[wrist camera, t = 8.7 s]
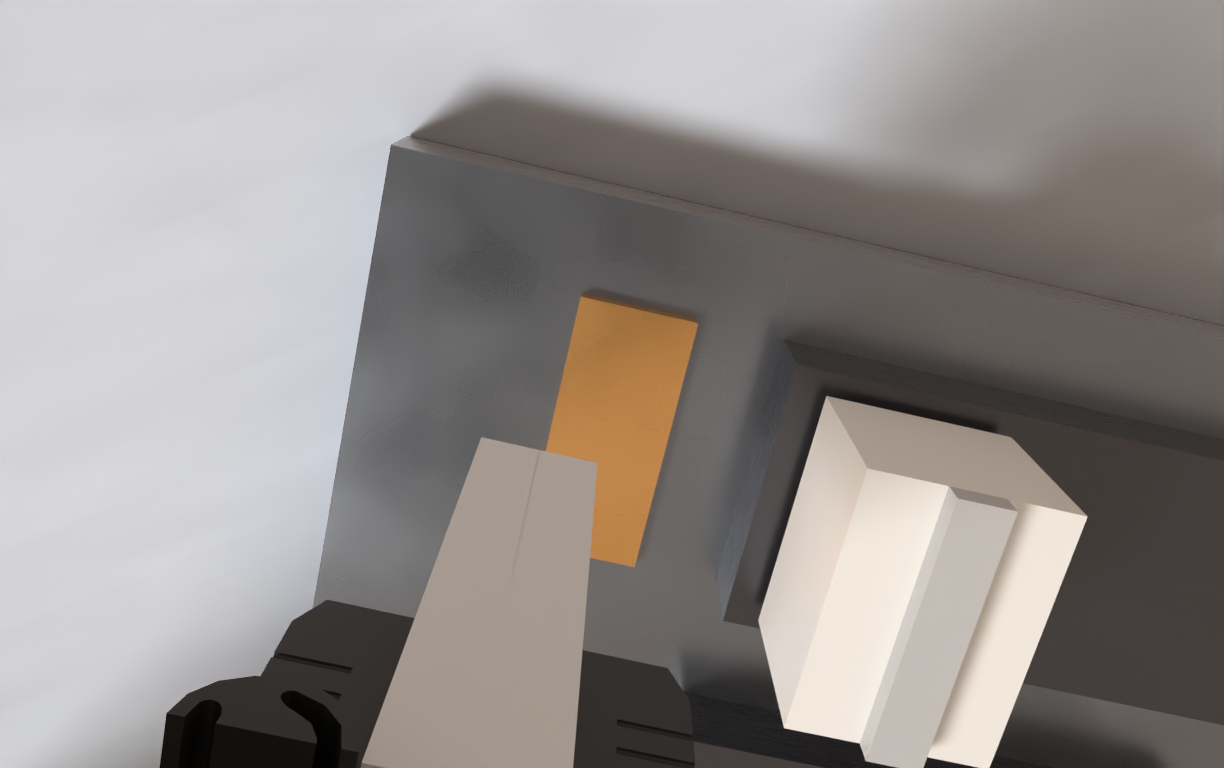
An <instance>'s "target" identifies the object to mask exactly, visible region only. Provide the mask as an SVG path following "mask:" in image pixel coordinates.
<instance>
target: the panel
mask: <svg viewBox="0 0 1224 768" xmlns="http://www.w3.org/2000/svg"><path fill="white" fill-rule="evenodd" d="M826 396H829V397H834V398H838V399H843V400H847V401H852V402H856V403H860V404H865V405H869V406H874V407H878V408H883V409H887V410H892V411H896V412H901V413H905V414H910V415H914V416H919V417H923V418H928V419H932V420H937V421H941V422H946V423H950V424H955V425H959V426H964V427H968V428H973V429H977V430H981V431H986V432H990V433H995V434H999V435H1004V436H1008V437H1012V439H1013V440H1014V441H1015V442H1016V443H1017V444H1018V445H1019V446H1020V447H1021V448H1022V449H1023V450H1024V451H1025V452H1026V453H1027V454H1028V455H1029V456H1030V457H1031V458H1032V459H1033V460H1034V461H1035V462H1036V463H1037V464H1038V466H1039V467H1040V468H1041V469H1042V470H1043V471H1044V472H1045V473H1046V474H1047V475H1048V476H1049V477H1050V478H1051V479H1052V480H1053V481H1054V482H1055V483H1056V484H1057V485H1058V486H1059V487H1060V488H1061V489H1062V490H1063V492H1064V493H1065V494H1066V495H1067V496H1068V497H1069V498H1070V499H1071V500H1072V501H1073V502H1074V503H1075V504H1076V505H1077V506H1078V507H1079V508H1080V509H1081V510H1082V511H1083V512H1084V513H1085V514H1086V515H1087V516H1088V517H1087V520H1086V522H1085V525H1084V527H1083V530H1082V532H1081V535H1080V537H1079V540H1078V543H1077V545H1076V548H1075V550H1074V553H1073V555H1072V558H1071V561H1070V563H1069V566H1068V568H1067V571H1066V573H1065V576H1064V578H1063V581H1062V584H1061V586H1060V589H1059V591H1058V594H1057V596H1056V599H1055V602H1054V604H1053V607H1052V609H1051V612H1050V614H1049V617H1048V619H1047V622H1046V625H1045V627H1044V630H1043V632H1042V635H1041V637H1040V640H1039V642H1038V645H1037V648H1036V650H1035V653H1034V655H1033V658H1032V660H1031V663H1030V666H1029V668H1028V671H1027V673H1026V676H1025V678H1024V681H1023V683H1022V686H1021V689H1020V691H1019V694H1018V696H1017V699H1016V701H1015V704H1014V707H1013V709H1012V712H1011V714H1010V717H1009V719H1008V722H1007V724H1006V727H1005V730H1004V732H1003V735H1002V737H1001V740H1000V742H999V745H998V747H997V750H996V753H995V755H994V758H993V760H992V763H991V765H990V768H1224V326H1221V325H1217V324H1213V323H1208V322H1204V321H1200V320H1195V319H1191V318H1187V317H1182V316H1178V315H1174V314H1170V313H1165V312H1161V311H1157V310H1152V309H1148V308H1144V307H1140V306H1135V305H1131V304H1127V303H1122V302H1118V301H1114V300H1109V299H1105V298H1101V297H1097V296H1092V295H1088V294H1084V293H1079V292H1075V291H1071V290H1066V289H1062V288H1058V287H1054V286H1049V285H1045V284H1041V283H1036V282H1032V281H1028V280H1024V279H1019V278H1015V277H1011V276H1006V275H1002V274H998V273H993V272H989V271H985V270H981V269H976V268H972V267H968V266H963V265H959V264H955V263H950V262H946V261H942V260H938V259H933V258H929V257H925V256H920V255H916V254H912V253H908V252H903V251H899V250H895V249H890V248H886V247H882V246H877V245H873V244H869V243H865V242H860V241H856V240H852V239H847V238H843V237H839V236H834V235H830V234H826V233H822V232H817V231H813V230H809V229H804V228H800V227H796V226H792V225H787V224H783V223H779V222H774V221H770V220H766V219H761V218H757V217H753V216H749V215H744V214H740V213H736V212H731V211H727V210H723V209H719V208H714V207H710V206H706V205H701V204H697V203H693V202H688V201H684V200H680V199H676V198H671V197H667V196H663V195H658V194H654V193H650V192H645V191H641V190H637V189H633V188H628V187H624V186H620V185H615V184H611V183H607V182H603V181H598V180H594V179H590V178H585V177H581V176H577V175H572V174H568V173H564V172H560V171H555V170H551V169H547V168H542V167H538V166H534V165H529V164H525V163H521V162H517V161H512V160H508V159H504V158H499V157H495V156H491V155H487V154H482V153H478V152H474V151H469V150H465V149H461V148H456V147H452V146H448V145H444V144H439V143H435V142H431V141H426V140H422V139H418V138H413V137H409V136H407V137H405V138H403V139H401V140H399V141H397V142H395V143H393V144H392V145H391V148H390V154H389V160H388V166H387V172H386V178H385V184H384V190H383V195H382V201H381V207H380V213H379V219H378V225H377V231H376V237H375V243H374V249H373V255H372V261H371V267H370V273H369V279H368V285H367V290H366V296H365V302H364V308H363V314H362V320H361V326H360V332H359V338H358V344H357V350H356V356H355V362H354V368H353V374H352V380H351V385H350V391H349V397H348V403H347V409H346V415H345V421H344V427H343V433H342V439H341V445H340V451H339V457H338V463H337V469H336V474H335V480H334V486H333V492H332V498H331V504H330V510H329V516H328V522H327V528H326V534H325V540H324V546H323V552H322V558H321V564H320V569H319V575H318V581H317V587H316V593H315V599H314V605H313V608H314V607H316V606H318V605H319V604H321V603H323V602H324V601H326V600H332V601H337V602H341V603H346V604H351V605H355V606H360V607H365V608H370V609H374V610H379V611H384V612H388V613H393V614H398V615H403V616H407V617H412V618H415V616H416V614H417V611H418V608H419V605H420V603H421V600H422V597H423V595H424V592H425V589H426V586H427V584H428V581H429V578H430V575H431V573H432V570H433V567H434V565H435V562H436V559H437V556H438V554H439V551H440V548H441V546H442V543H443V540H444V537H445V535H446V532H447V529H448V527H449V524H450V521H451V518H452V516H453V513H454V510H455V508H456V505H457V502H458V499H459V497H460V494H461V491H462V488H463V486H464V483H465V480H466V478H467V475H468V472H469V469H470V467H471V464H472V461H473V459H474V456H475V453H476V450H477V448H478V445H479V442H480V440H481V437H483V438H487V439H492V440H496V441H501V442H505V443H510V444H514V445H519V446H523V447H528V448H532V449H537V450H541V451H546V452H550V453H555V454H560V455H564V456H569V457H573V458H578V459H582V460H587V461H591V462H596V463H598V464H597V476H596V489H595V501H594V514H593V526H592V539H591V551H590V563H589V576H588V588H587V601H586V613H585V626H584V638H583V650H585V651H590V652H594V653H599V654H604V655H608V656H613V657H618V658H623V659H627V660H632V661H637V662H641V663H646V664H651V665H655V666H660V667H665V668H668V669H669V671H670V672H671V674H672V675H673V677H674V678H675V680H676V681H677V682H678V684H679V685H680V687H681V688H682V690H683V691H684V693H685V694H686V696H687V697H688V699H689V700H690V707H691V719H692V730H693V737H692V741H693V742H694V754H695V767H694V768H897V767H892V766H887V765H882V764H877V763H872V762H867V761H865V758H864V755H863V752H862V749H861V746H860V743H855V742H850V741H845V740H840V739H835V738H830V737H825V736H820V735H815V734H810V733H805V732H801V731H796V730H791V729H786V728H784V726H783V722H782V718H781V713H780V709H779V705H778V701H777V697H776V692H775V688H774V684H773V680H772V676H771V672H770V667H769V663H768V659H767V655H766V651H765V646H764V642H763V638H762V634H761V630H760V626H759V621H758V620H759V616H760V613H761V610H762V606H763V603H764V600H765V596H766V593H767V590H768V587H769V583H770V580H771V577H772V573H773V570H774V567H775V564H776V560H777V557H778V554H779V550H780V547H781V544H782V540H783V537H784V534H785V531H786V527H787V524H788V521H789V517H790V514H791V511H792V507H793V504H794V501H795V498H796V494H797V491H798V488H799V484H800V481H801V478H802V475H803V471H804V468H805V465H806V461H807V458H808V455H809V451H810V448H811V445H812V442H813V438H814V435H815V432H816V428H817V425H818V422H819V419H820V415H821V412H822V409H823V405H824V402H825V399H826ZM923 768H978V767H973V766H968V765H963V764H958V763H953V762H948V761H943V760H939V759H934V758H929V757H927V759H926V762H925V765H924V767H923Z"/></svg>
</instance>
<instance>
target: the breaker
mask: <svg viewBox="0 0 1224 768" xmlns="http://www.w3.org/2000/svg"><path fill="white" fill-rule="evenodd" d="M1087 517H1088V516H1087V515H1086V514H1085V513H1084V512H1083V511H1082V510H1081V509H1080V508H1079V507H1078V506H1077V505H1076V504H1075V503H1074V502H1073V501H1072V500H1071V499H1070V498H1069V497H1068V496H1067V495H1066V494H1065V493H1064V492H1063V490H1062V489H1061V488H1060V487H1059V486H1058V485H1057V484H1056V483H1055V482H1054V481H1053V480H1052V479H1051V478H1050V477H1049V476H1048V475H1047V474H1046V473H1045V472H1044V471H1043V470H1042V469H1041V468H1040V467H1039V466H1038V464H1037V463H1036V462H1035V461H1034V460H1033V459H1032V458H1031V457H1030V456H1029V455H1028V454H1027V453H1026V452H1025V451H1024V450H1023V449H1022V448H1021V447H1020V446H1019V445H1018V444H1017V443H1016V442H1015V441H1014V440H1013V439H1012V437H1008V436H1004V435H999V434H995V433H990V432H986V431H981V430H977V429H973V428H968V427H964V426H959V425H955V424H950V423H946V422H941V421H937V420H932V419H928V418H923V417H919V416H914V415H910V414H905V413H901V412H896V411H892V410H887V409H883V408H878V407H874V406H869V405H865V404H860V403H856V402H852V401H847V400H843V399H838V398H834V397H829V396H826V399H825V402H824V405H823V409H822V412H821V415H820V419H819V422H818V425H817V428H816V432H815V435H814V438H813V442H812V445H811V448H810V451H809V455H808V458H807V461H806V465H805V468H804V471H803V475H802V478H801V481H800V484H799V488H798V491H797V494H796V498H795V501H794V504H793V507H792V511H791V514H790V517H789V521H788V524H787V527H786V531H785V534H784V537H783V540H782V544H781V547H780V550H779V554H778V557H777V560H776V564H775V567H774V570H773V573H772V577H771V580H770V583H769V587H768V590H767V593H766V596H765V600H764V603H763V606H762V610H761V613H760V616H759V620H758V621H759V626H760V630H761V634H762V638H763V642H764V646H765V651H766V655H767V659H768V663H769V667H770V672H771V676H772V680H773V684H774V688H775V692H776V697H777V701H778V705H779V709H780V713H781V718H782V722H783V726H784V728H786V729H791V730H796V731H801V732H805V733H810V734H815V735H820V736H825V737H830V738H835V739H840V740H845V741H850V742H855V743H860V746H861V749H862V752H863V755H864V758H865V761H867V762H872V763H877V764H882V765H887V766H892V767H897V768H923V767H924V765H925V762H926V759H927V757H929V758H934V759H939V760H943V761H948V762H953V763H958V764H963V765H968V766H973V767H978V768H990V765H991V763H992V760H993V758H994V755H995V753H996V750H997V747H998V745H999V742H1000V740H1001V737H1002V735H1003V732H1004V730H1005V727H1006V724H1007V722H1008V719H1009V717H1010V714H1011V712H1012V709H1013V707H1014V704H1015V701H1016V699H1017V696H1018V694H1019V691H1020V689H1021V686H1022V683H1023V681H1024V678H1025V676H1026V673H1027V671H1028V668H1029V666H1030V663H1031V660H1032V658H1033V655H1034V653H1035V650H1036V648H1037V645H1038V642H1039V640H1040V637H1041V635H1042V632H1043V630H1044V627H1045V625H1046V622H1047V619H1048V617H1049V614H1050V612H1051V609H1052V607H1053V604H1054V602H1055V599H1056V596H1057V594H1058V591H1059V589H1060V586H1061V584H1062V581H1063V578H1064V576H1065V573H1066V571H1067V568H1068V566H1069V563H1070V561H1071V558H1072V555H1073V553H1074V550H1075V548H1076V545H1077V543H1078V540H1079V537H1080V535H1081V532H1082V530H1083V527H1084V525H1085V522H1086V520H1087Z"/></svg>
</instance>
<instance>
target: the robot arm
mask: <svg viewBox="0 0 1224 768" xmlns="http://www.w3.org/2000/svg"><path fill="white" fill-rule="evenodd" d="M597 464H598V463H596V462H591V461H587V460H582V459H578V458H573V457H569V456H564V455H560V454H555V453H550V452H546V451H541V450H537V449H532V448H528V447H523V446H519V445H514V444H510V443H505V442H501V441H496V440H492V439H487V438H483V437H481V440H480V442H479V445H478V448H477V450H476V453H475V456H474V459H473V461H472V464H471V467H470V469H469V472H468V475H467V478H466V480H465V483H464V486H463V488H462V491H461V494H460V497H459V499H458V502H457V505H456V508H455V510H454V513H453V516H452V518H451V521H450V524H449V527H448V529H447V532H446V535H445V537H444V540H443V543H442V546H441V548H440V551H439V554H438V556H437V559H436V562H435V565H434V567H433V570H432V573H431V575H430V578H429V581H428V584H427V586H426V589H425V592H424V595H423V597H422V600H421V603H420V605H419V608H418V611H417V614H416V616H415V618H412V617H407V616H403V615H398V614H393V613H388V612H384V611H379V610H374V609H370V608H365V607H360V606H355V605H351V604H346V603H341V602H337V601H332V600H326V601H324V602H323V603H321V604H319V605H318V606H316V607H314V608H313V609H311V610H309V611H308V612H306V613H305V614H303V615H301V616H300V617H298V618H296V619H295V620H293V621H292V622H291V624H290V626H289V628H288V629H287V631H286V633H285V635H284V636H283V638H282V640H281V642H280V643H279V645H278V647H277V649H276V650H275V653H274V657H273V658H272V657H271V659H270V661H269V663H268V664H267V666H266V668H265V670H264V671H263V673H262V675H261V677H260V676H251V677H244V678H237V679H229V680H222V681H217V682H215V683H213V684H210V685H208V686H205V687H203V688H201V689H198V690H196V691H193V692H191V693H188V694H187V695H186V696H185V697H184V698H183V699H182V700H181V701H179V702H178V703H177V704H176V705H175V706H174V707H173V708H172V709H171V710H170V711H169V712H168V713H167V715H166V723H165V731H164V739H163V747H162V754H161V762H160V768H694V767H695V754H694V742H693V741H692V737H693V730H692V719H691V707H690V700H689V699H688V697H687V696H686V694H685V693H684V691H683V690H682V688H681V687H680V685H679V684H678V682H677V681H676V680H675V678H674V677H673V675H672V674H671V672H670V671H669V669H668V668H665V667H660V666H655V665H651V664H646V663H641V662H637V661H632V660H627V659H623V658H618V657H613V656H608V655H604V654H599V653H594V652H590V651H585V650H583V638H584V626H585V613H586V601H587V588H588V576H589V563H590V551H591V539H592V526H593V514H594V501H595V489H596V476H597Z"/></svg>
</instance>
